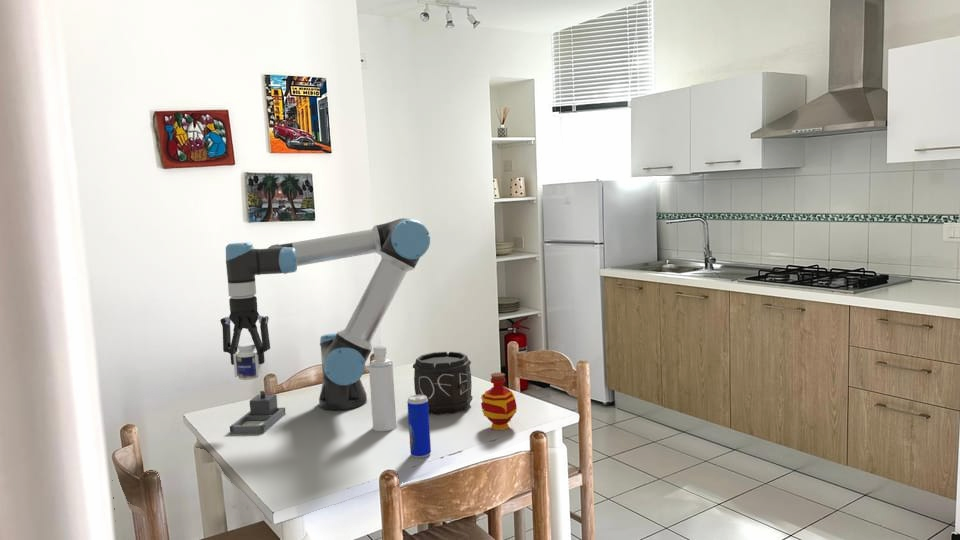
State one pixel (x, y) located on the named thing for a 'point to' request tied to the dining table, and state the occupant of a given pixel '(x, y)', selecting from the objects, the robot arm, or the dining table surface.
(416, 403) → the beverage can
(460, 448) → the dining table surface
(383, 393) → the spray bottle
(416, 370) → the wooden barrel
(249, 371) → the pill bottle
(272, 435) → the dining table surface
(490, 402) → the potion bottle
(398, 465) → the dining table surface
